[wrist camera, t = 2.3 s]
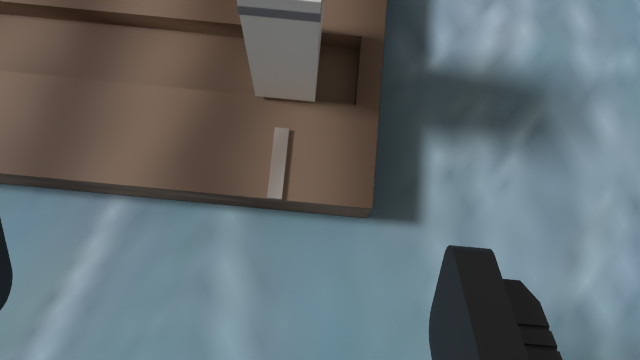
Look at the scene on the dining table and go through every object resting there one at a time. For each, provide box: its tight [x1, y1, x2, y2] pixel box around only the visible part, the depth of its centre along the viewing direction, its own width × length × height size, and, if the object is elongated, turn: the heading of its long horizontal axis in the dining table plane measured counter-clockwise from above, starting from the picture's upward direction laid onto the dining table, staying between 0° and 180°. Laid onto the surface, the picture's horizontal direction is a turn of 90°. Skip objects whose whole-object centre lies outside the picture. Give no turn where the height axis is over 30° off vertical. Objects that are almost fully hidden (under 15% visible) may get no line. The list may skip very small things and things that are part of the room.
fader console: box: [0, 0, 387, 218], centre depth 27 cm, size 25×12×2 cm, turn 85°
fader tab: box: [237, 0, 324, 102], centre depth 22 cm, size 2×4×9 cm
